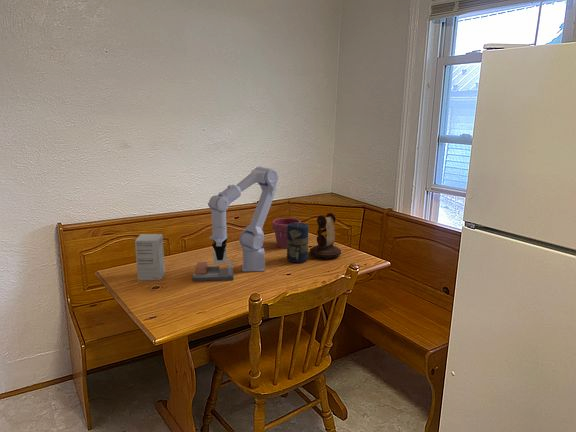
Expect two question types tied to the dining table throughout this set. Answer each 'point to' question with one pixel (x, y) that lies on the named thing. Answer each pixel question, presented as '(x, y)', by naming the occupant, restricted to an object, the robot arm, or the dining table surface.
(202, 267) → the tall terracotta prism
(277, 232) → the plant pot
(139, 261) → the supplement box
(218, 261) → the housing
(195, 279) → the press bed
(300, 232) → the canister
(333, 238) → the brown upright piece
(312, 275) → the dining table surface
